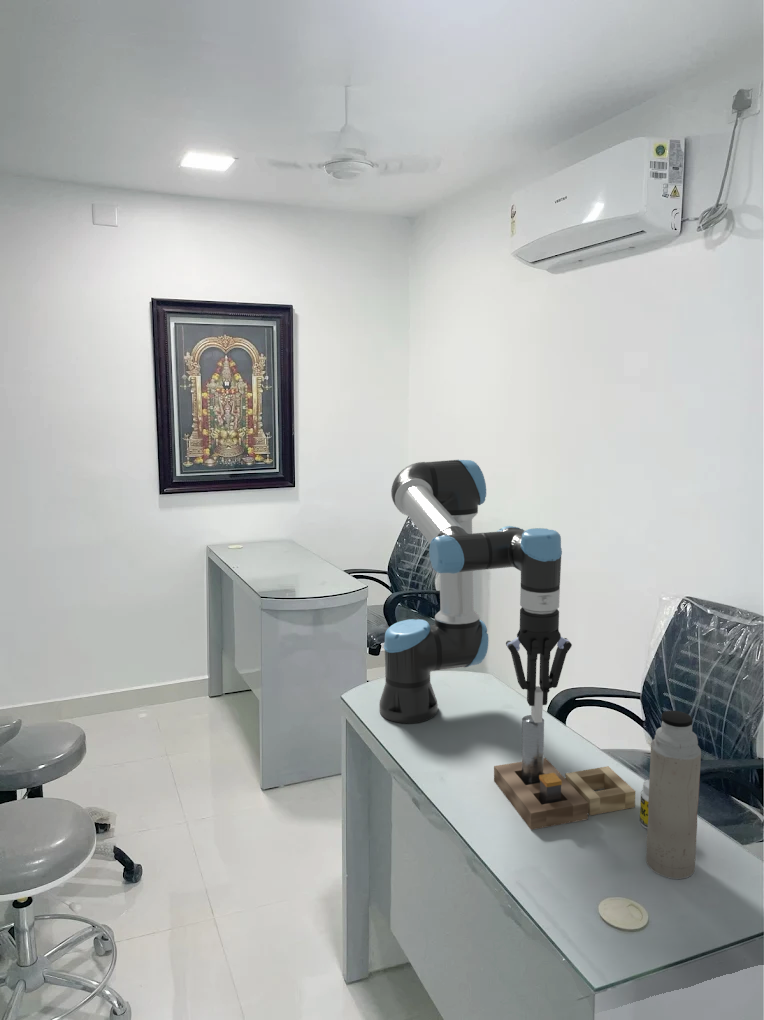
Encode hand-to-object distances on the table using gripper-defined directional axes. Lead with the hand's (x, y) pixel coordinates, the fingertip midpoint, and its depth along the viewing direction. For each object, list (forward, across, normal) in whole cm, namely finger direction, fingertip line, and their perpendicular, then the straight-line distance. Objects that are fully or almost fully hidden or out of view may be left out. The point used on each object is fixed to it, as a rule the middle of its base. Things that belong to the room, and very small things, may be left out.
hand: (536, 719), depth 148 cm
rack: (+17, +13, -2) cm, 21 cm away
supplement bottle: (+17, +20, -12) cm, 29 cm away
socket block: (+17, 0, -2) cm, 17 cm away
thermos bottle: (+16, +18, -24) cm, 34 cm away
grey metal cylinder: (+17, 0, +1) cm, 17 cm away
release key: (+16, +1, -7) cm, 17 cm away
